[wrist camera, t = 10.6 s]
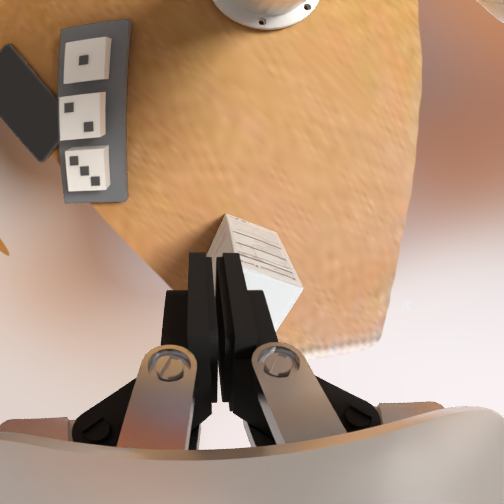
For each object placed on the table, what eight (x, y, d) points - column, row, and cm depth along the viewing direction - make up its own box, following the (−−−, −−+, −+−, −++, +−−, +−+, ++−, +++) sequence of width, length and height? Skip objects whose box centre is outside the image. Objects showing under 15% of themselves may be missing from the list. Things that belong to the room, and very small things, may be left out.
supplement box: (253, 276, 44) (270, 341, 33) (202, 259, 42) (205, 325, 31) (278, 231, 41) (306, 289, 30) (225, 210, 39) (236, 266, 28)
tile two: (66, 96, 26) (58, 97, 24) (105, 91, 27) (99, 92, 25) (67, 137, 29) (59, 141, 27) (105, 134, 29) (99, 137, 27)
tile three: (71, 147, 30) (64, 151, 28) (108, 144, 31) (102, 148, 29) (74, 185, 32) (67, 192, 30) (110, 184, 33) (105, 190, 31)
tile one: (72, 44, 24) (64, 42, 22) (111, 38, 25) (105, 36, 23) (70, 83, 27) (62, 84, 25) (108, 79, 27) (103, 78, 25)
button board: (66, 30, 24) (61, 29, 23) (132, 21, 26) (129, 19, 24) (69, 199, 35) (64, 203, 33) (128, 197, 36) (125, 201, 35)
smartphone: (41, 165, 31) (-25, 86, 23) (44, 163, 32) (-21, 85, 24) (78, 122, 30) (7, 40, 22) (81, 121, 31) (11, 40, 23)
